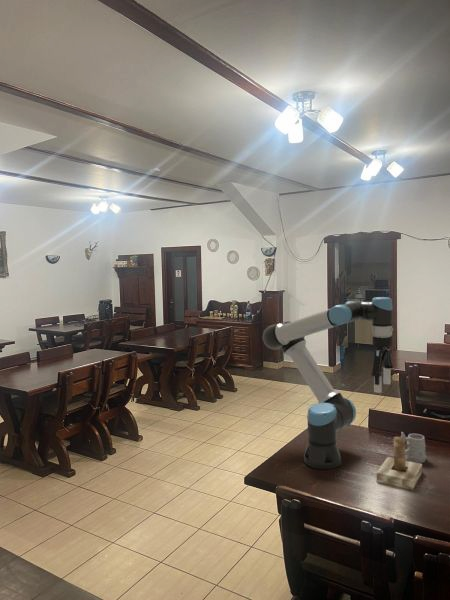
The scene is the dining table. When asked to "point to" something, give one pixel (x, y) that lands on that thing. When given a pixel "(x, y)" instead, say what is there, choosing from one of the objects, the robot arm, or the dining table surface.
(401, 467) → the leg
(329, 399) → the robot arm
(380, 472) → the wooden block with hole
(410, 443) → the mug
